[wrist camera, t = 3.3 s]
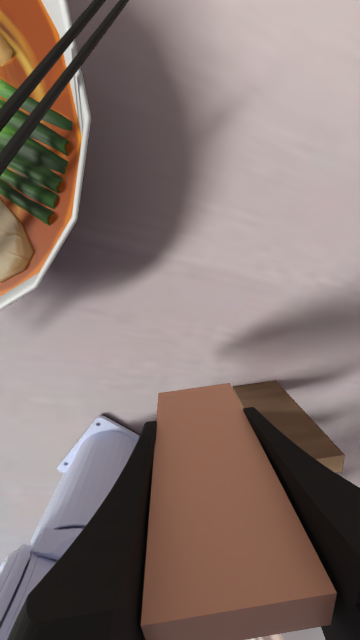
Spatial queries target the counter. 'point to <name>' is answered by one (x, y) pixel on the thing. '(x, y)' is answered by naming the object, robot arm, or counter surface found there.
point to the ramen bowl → (41, 134)
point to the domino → (290, 421)
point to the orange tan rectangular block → (223, 531)
